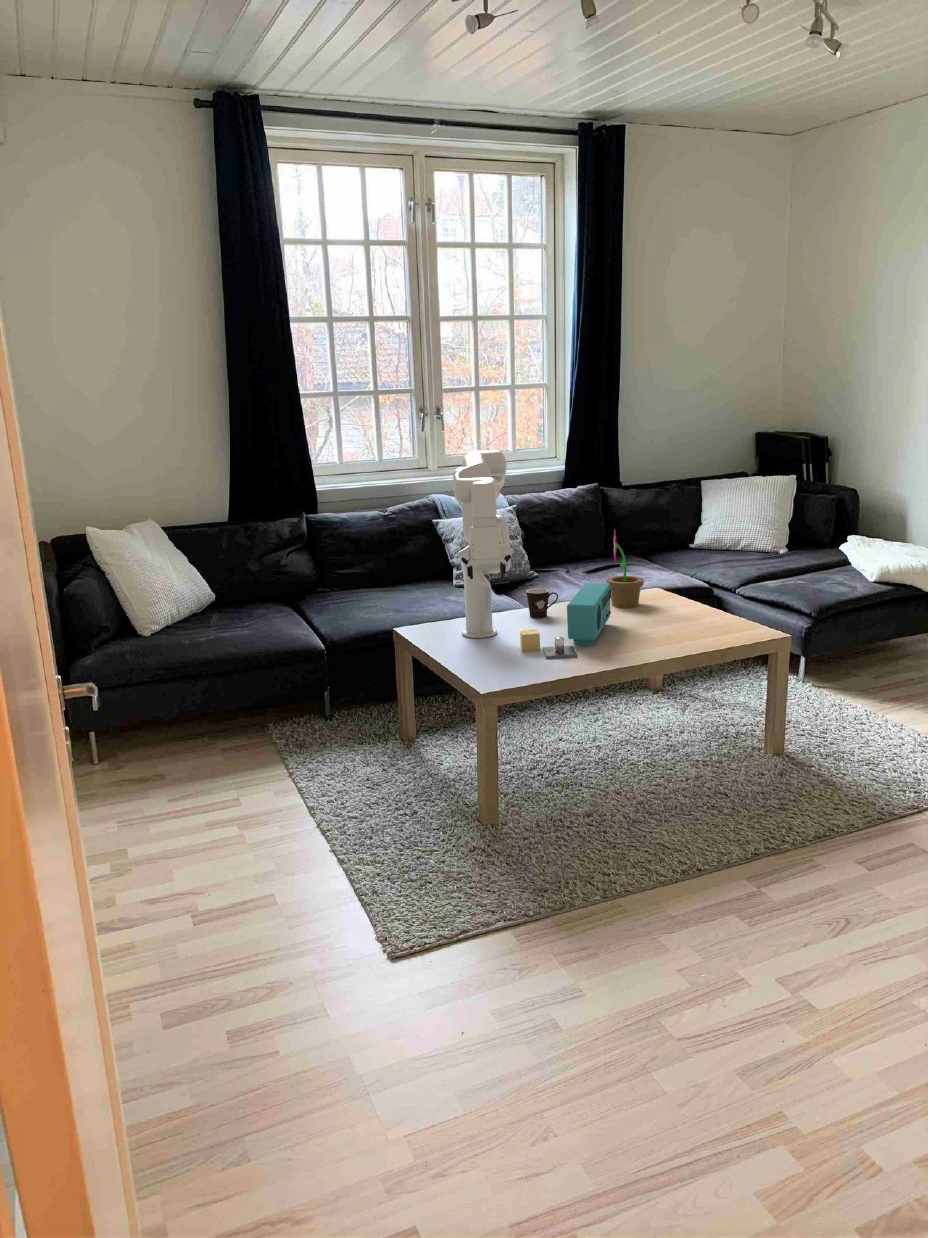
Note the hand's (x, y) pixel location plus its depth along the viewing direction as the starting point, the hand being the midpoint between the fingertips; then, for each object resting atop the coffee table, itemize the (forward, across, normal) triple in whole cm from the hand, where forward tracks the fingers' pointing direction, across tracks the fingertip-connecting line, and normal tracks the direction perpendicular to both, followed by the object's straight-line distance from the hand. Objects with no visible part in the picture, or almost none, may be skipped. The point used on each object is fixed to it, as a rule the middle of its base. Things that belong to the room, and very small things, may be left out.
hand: (486, 577), depth 293 cm
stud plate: (+30, -25, -12) cm, 41 cm away
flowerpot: (+31, -64, -69) cm, 99 cm away
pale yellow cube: (+30, -17, -20) cm, 40 cm away
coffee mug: (+31, -29, -61) cm, 75 cm away
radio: (+31, -41, -32) cm, 60 cm away
